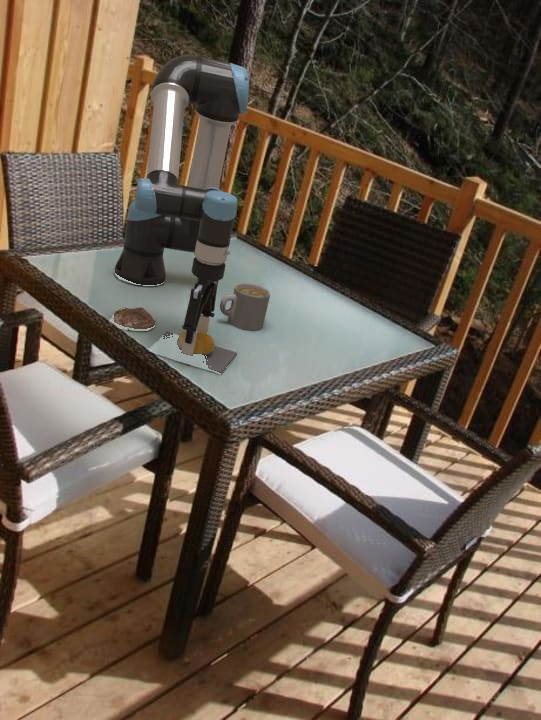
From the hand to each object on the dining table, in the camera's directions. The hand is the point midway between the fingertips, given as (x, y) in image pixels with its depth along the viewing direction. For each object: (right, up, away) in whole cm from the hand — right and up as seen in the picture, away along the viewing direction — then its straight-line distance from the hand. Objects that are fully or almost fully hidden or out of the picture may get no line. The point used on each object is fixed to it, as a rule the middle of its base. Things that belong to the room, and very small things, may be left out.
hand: (193, 346), depth 175 cm
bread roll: (0, -1, 0) cm, 1 cm away
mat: (0, -2, +1) cm, 2 cm away
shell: (-17, +6, +10) cm, 21 cm away
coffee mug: (+10, +7, +25) cm, 28 cm away
